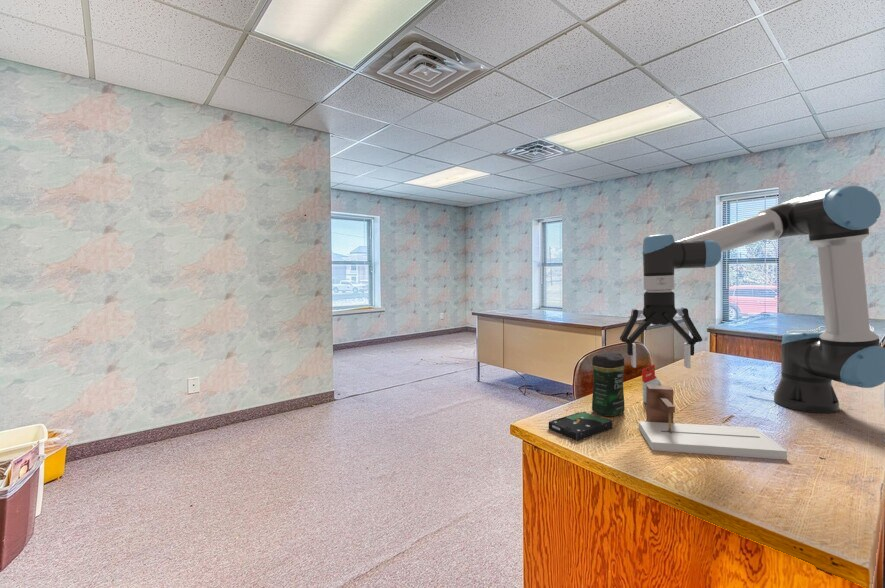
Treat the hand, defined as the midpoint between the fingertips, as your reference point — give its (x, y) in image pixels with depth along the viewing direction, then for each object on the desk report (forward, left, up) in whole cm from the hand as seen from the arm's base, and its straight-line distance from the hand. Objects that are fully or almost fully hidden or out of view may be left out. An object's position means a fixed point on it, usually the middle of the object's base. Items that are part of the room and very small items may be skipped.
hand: (660, 366), depth 112 cm
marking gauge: (0, +4, -17) cm, 17 cm away
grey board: (-8, +10, -17) cm, 21 cm away
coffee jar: (+12, -9, -17) cm, 23 cm away
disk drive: (+22, +6, -18) cm, 29 cm away
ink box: (-4, -23, -17) cm, 29 cm away
